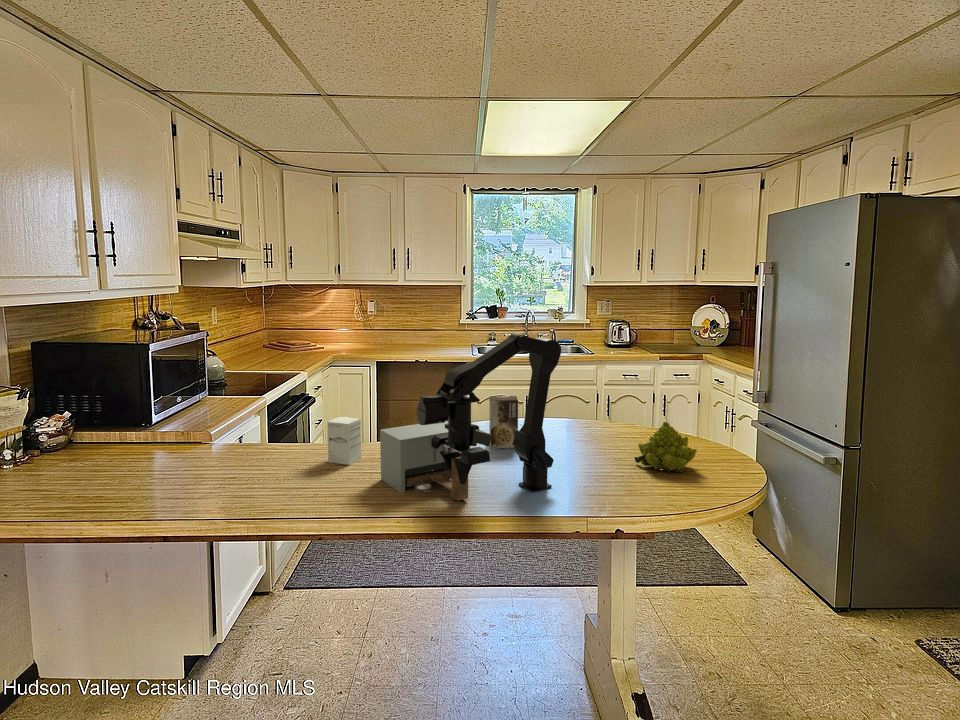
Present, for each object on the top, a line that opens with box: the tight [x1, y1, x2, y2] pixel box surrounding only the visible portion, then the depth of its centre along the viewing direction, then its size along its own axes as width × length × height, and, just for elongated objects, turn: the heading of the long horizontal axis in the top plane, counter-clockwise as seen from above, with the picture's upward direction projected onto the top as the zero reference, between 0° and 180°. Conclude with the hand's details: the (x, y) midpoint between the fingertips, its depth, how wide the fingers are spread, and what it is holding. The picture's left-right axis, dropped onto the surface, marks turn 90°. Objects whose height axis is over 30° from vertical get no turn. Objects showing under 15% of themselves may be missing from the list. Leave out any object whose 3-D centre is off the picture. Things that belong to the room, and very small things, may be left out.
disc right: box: [444, 475, 452, 481], centre depth 165 cm, size 4×4×2 cm
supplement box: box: [327, 416, 362, 466], centre depth 183 cm, size 7×7×13 cm
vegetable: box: [634, 421, 697, 473], centre depth 178 cm, size 15×16×15 cm
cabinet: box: [379, 420, 449, 494], centre depth 168 cm, size 12×20×14 cm, turn 124°
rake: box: [405, 457, 469, 502], centre depth 159 cm, size 16×15×10 cm
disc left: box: [413, 481, 432, 493], centre depth 161 cm, size 4×4×2 cm
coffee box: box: [488, 395, 519, 449], centre depth 200 cm, size 9×6×16 cm
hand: (459, 481), depth 153 cm, fingers closed on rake, 3 cm apart
